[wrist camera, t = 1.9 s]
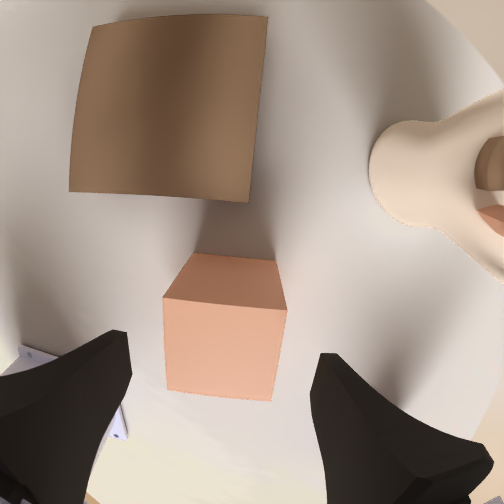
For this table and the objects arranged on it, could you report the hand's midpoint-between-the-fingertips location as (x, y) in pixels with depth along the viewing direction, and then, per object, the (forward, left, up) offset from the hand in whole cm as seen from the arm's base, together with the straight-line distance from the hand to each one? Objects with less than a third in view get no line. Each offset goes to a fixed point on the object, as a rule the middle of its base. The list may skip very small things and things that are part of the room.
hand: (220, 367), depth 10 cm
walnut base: (-4, +10, -7) cm, 13 cm away
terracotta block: (0, 0, -7) cm, 7 cm away
